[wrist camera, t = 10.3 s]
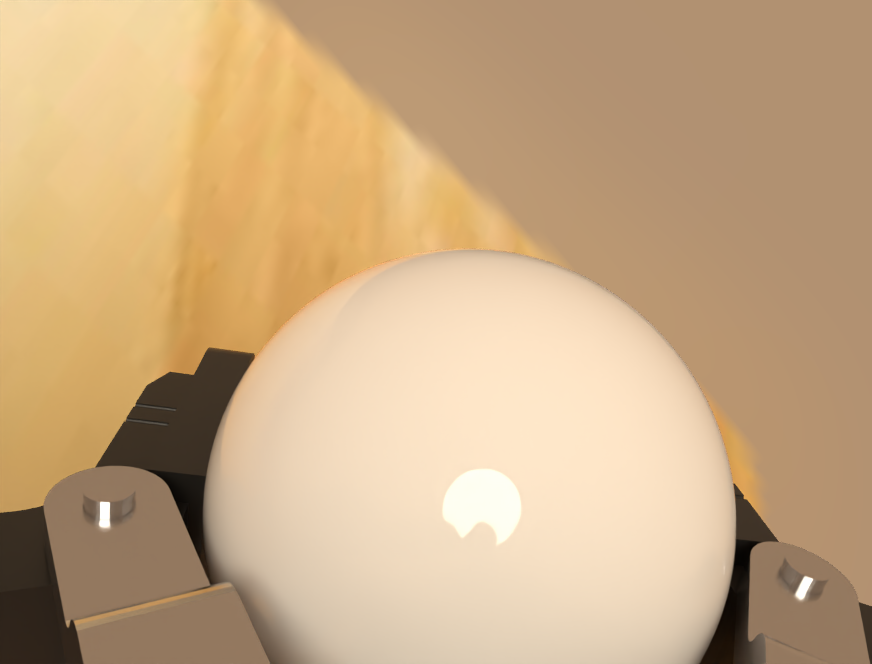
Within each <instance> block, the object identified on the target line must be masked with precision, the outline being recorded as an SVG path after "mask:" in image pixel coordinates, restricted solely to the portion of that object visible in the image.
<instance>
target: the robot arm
mask: <svg viewBox="0 0 872 664" xmlns="http://www.w3.org/2000/svg"><path fill="white" fill-rule="evenodd" d="M254 358H255V355H254V354H253V353H245V352H238V351H231V350H224V349H217V348H208V349H207V351H206V353H205V355H204V357H203V359H202V361H201V363H200V364H199V366H198V368H197V370H196V372H195V374H194V375H189V374H182V373H174V372H169V373H167V374H166V375H164V376H162V377H161V378H159V379H157V380H155V381H154V382H152V383H150V384H148V385H147V386H146V388H145V389H144V391H143V393H142V394H141V396H140V397H139V399H138V400H137V402H136V406H135V407H133V408H132V410H131V412H130V413H129V415H128V416H127V419H126V422H125V421H124V423H123V424H122V426H121V427H120V429H119V431H118V432H117V434H116V435H115V437H114V439H113V440H112V442H111V443H110V445H109V446H108V448H107V450H106V451H105V453H104V454H103V456H102V458H101V459H100V461H99V462H98V464H97V466H96V467H95V468H91V469H87V470H84V471H80V472H78V473H75V474H73V475H70V476H68V477H67V478H65V479H63V480H61V481H60V482H59V483H57V484H56V485H55V486H54V487H53V488H52V489H51V490H50V491H49V493H48V494H47V496H46V498H45V501H44V506H40V507H37V508H32V509H28V510H22V511H14V512H4V513H0V664H270V662H269V660H268V658H267V655H266V653H265V651H264V649H263V647H262V645H261V642H260V640H259V638H258V636H257V634H256V631H255V629H254V627H253V625H252V623H251V621H250V618H249V616H248V614H247V612H246V610H245V607H244V605H243V603H242V601H241V599H240V597H239V595H238V593H237V591H236V589H235V588H234V586H233V585H232V584H231V583H229V582H222V583H218V584H214V585H210V583H209V581H208V572H207V567H206V561H205V554H204V544H203V527H202V511H203V494H204V485H205V478H206V472H207V466H208V462H209V457H210V453H211V449H212V445H213V442H214V438H215V435H216V432H217V429H218V426H219V424H220V421H221V418H222V416H223V413H224V411H225V409H226V406H227V404H228V402H229V400H230V398H231V396H232V394H233V392H234V390H235V388H236V387H237V385H238V383H239V381H240V380H241V378H242V376H243V375H244V373H245V372H246V370H247V368H248V367H249V365H250V364H251V363H252V361H253V360H254ZM733 485H734V493H735V502H736V549H735V559H734V567H733V573H732V578H731V584H730V589H729V593H728V597H727V600H726V604H725V607H724V610H723V613H722V616H721V619H720V622H719V625H718V627H717V630H716V632H715V634H714V637H713V639H712V641H711V643H710V645H709V647H708V650H707V652H706V654H705V655H704V657H703V659H702V661H701V663H700V664H872V606H868V605H865V604H862V603H859V602H858V597H857V594H856V591H855V589H854V587H853V586H852V584H851V583H850V582H849V580H848V579H847V578H846V577H845V576H844V575H843V574H842V573H841V572H840V571H839V570H838V569H836V568H835V567H834V566H833V565H831V564H829V563H828V562H827V561H825V560H824V559H822V558H821V557H819V556H817V555H815V554H813V553H811V552H809V551H807V550H805V549H802V548H800V547H797V546H794V545H790V544H786V543H781V542H779V541H778V540H777V539H776V537H775V536H774V535H773V534H772V532H771V531H770V530H769V528H768V527H767V526H766V524H765V523H764V522H763V520H762V519H761V518H760V516H759V515H758V514H757V512H756V511H755V510H754V508H753V507H752V506H751V504H750V503H749V502H748V501H747V500H745V499H743V497H744V495H743V494H742V493H741V491H740V490H739V489H738V487H737V486H736V485H735V484H733Z"/></svg>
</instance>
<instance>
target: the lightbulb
mask: <svg viewBox="0 0 872 664" xmlns="http://www.w3.org/2000/svg"><path fill="white" fill-rule="evenodd" d="M202 527H203V544H204V554H205V561H206V567H207V572H208V577H209V582H210V585H214V584H218V583H222V582H229V583H231V584H232V585H233V586H234V588H235V589H236V591H237V593H238V595H239V597H240V599H241V601H242V603H243V605H244V607H245V610H246V612H247V614H248V616H249V618H250V621H251V623H252V625H253V627H254V629H255V631H256V634H257V636H258V638H259V640H260V642H261V645H262V647H263V649H264V651H265V653H266V655H267V658H268V660H269V662H270V664H700V663H701V661H702V659H703V657H704V655H705V654H706V652H707V650H708V647H709V645H710V643H711V641H712V639H713V637H714V634H715V632H716V630H717V627H718V625H719V622H720V619H721V616H722V613H723V610H724V607H725V604H726V600H727V597H728V593H729V589H730V584H731V578H732V573H733V567H734V559H735V549H736V502H735V493H734V485H733V479H732V473H731V468H730V464H729V459H728V455H727V451H726V448H725V444H724V441H723V438H722V435H721V432H720V429H719V427H718V424H717V421H716V419H715V417H714V414H713V412H712V410H711V407H710V405H709V403H708V401H707V399H706V397H705V395H704V393H703V391H702V390H701V388H700V386H699V384H698V383H697V381H696V379H695V378H694V376H693V375H692V373H691V371H690V370H689V369H688V367H687V366H686V364H685V363H684V361H683V360H682V359H681V357H680V356H679V355H678V353H677V352H676V351H675V349H674V348H673V347H672V346H671V345H670V344H669V342H668V341H667V340H666V339H665V338H664V337H663V336H662V334H661V333H660V332H659V331H658V330H657V329H656V328H655V327H654V326H653V325H652V324H651V323H650V322H649V321H648V320H647V319H645V318H644V317H643V316H642V315H641V314H640V313H639V312H637V311H636V310H635V309H634V308H633V307H631V306H630V305H629V304H627V303H626V302H625V301H624V300H622V299H621V298H619V297H618V296H617V295H615V294H614V293H612V292H611V291H609V290H608V289H606V288H604V287H603V286H601V285H599V284H598V283H596V282H594V281H592V280H590V279H589V278H587V277H585V276H582V275H580V274H578V273H576V272H574V271H572V270H570V269H567V268H565V267H562V266H560V265H557V264H554V263H551V262H548V261H545V260H542V259H539V258H535V257H531V256H527V255H523V254H518V253H513V252H507V251H500V250H491V249H475V248H459V249H443V250H434V251H427V252H421V253H416V254H411V255H407V256H403V257H399V258H396V259H392V260H389V261H386V262H383V263H380V264H377V265H375V266H372V267H370V268H367V269H365V270H363V271H361V272H358V273H356V274H354V275H352V276H350V277H348V278H346V279H344V280H342V281H340V282H339V283H337V284H335V285H333V286H332V287H330V288H329V289H327V290H326V291H324V292H323V293H321V294H320V295H318V296H317V297H315V298H314V299H313V300H311V301H310V302H309V303H307V304H306V305H305V306H304V307H302V308H301V309H300V310H299V311H298V312H296V313H295V314H294V315H293V316H292V317H291V318H290V319H289V320H288V321H287V322H286V323H285V324H284V325H283V326H282V327H281V328H280V329H279V330H278V331H277V332H276V333H275V334H274V335H273V336H272V337H271V338H270V339H269V341H268V342H267V343H266V344H265V345H264V346H263V348H262V349H261V350H260V352H259V353H258V354H257V356H256V357H255V358H254V360H253V361H252V363H251V364H250V365H249V367H248V368H247V370H246V372H245V373H244V375H243V376H242V378H241V380H240V381H239V383H238V385H237V387H236V388H235V390H234V392H233V394H232V396H231V398H230V400H229V402H228V404H227V406H226V409H225V411H224V413H223V416H222V418H221V421H220V424H219V426H218V429H217V432H216V435H215V438H214V442H213V445H212V449H211V453H210V457H209V462H208V466H207V472H206V478H205V485H204V494H203V511H202Z"/></svg>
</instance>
